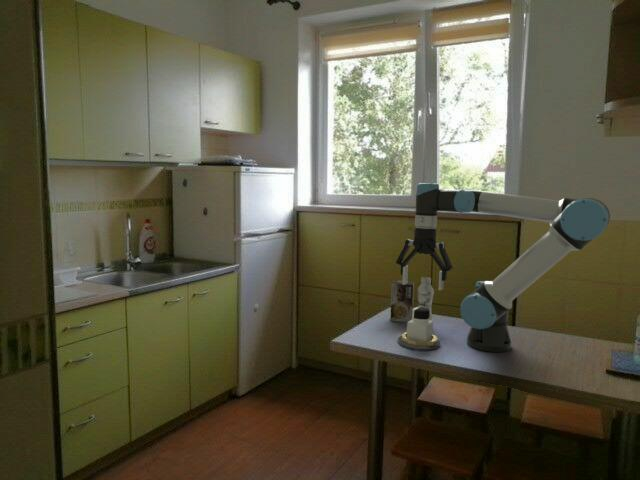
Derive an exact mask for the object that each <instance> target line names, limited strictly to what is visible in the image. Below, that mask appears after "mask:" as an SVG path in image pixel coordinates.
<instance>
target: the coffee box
mask: <svg viewBox="0 0 640 480" xmlns="http://www.w3.org/2000/svg"><path fill="white" fill-rule="evenodd" d="M414 287H415V281H409V280H407V284H405V285H402V280H397V279H396V280H392V282H391V289H390V290H391V294H390V295H391V296H390V317H389V318H390V319H389V320H390V322H401V323H403V322H404V323H408V322H409V321H411V320H412V310H413V308H414V294H415V292H414V290H415V289H414Z"/></svg>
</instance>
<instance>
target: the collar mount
mask: <svg viewBox="0 0 640 480" xmlns="http://www.w3.org/2000/svg"><path fill="white" fill-rule="evenodd" d="M397 343H398V344H399V345H400V346H401V347H403V348H406V349H410V350H413V351H422V352H423V351H426V352H427V351H434V350H438V349H440V347H441V340H439V339H438V336H437V335H435V334H433V333H432V340H431V341H415V340H411V339H409V338H407V331H405V332H403V333H402V334H401V335H400V336H399V337H398V338H397Z"/></svg>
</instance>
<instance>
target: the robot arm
mask: <svg viewBox="0 0 640 480" xmlns="http://www.w3.org/2000/svg"><path fill="white" fill-rule="evenodd" d="M415 193H416V194H415V215H414V226H415V227H414V234H413V238H414V239H411V238H409V239H405V241H404V246H403V248H402V250H401V252H400V254H399V256H398V257H397V259H396V261H395V263H396V265H399V266H400V275H401V276H402V280H401V281H402V285H405V284H407V281H409V279H408V278H409V277H408V276H409V275H408V274H409V265H408V263H410V261H411V260H413V258H414V257H415V256H416V255H417V254H420V255H421V254H423V255H429V256H431V258H432V259H433V260H434V261H435V263H436V265H437V266H438V267H439V269H440V271H439V275H438V288H437V289H438V291H442V290H444V282H445V281H447V276H448V272H449V271H452V270H453V265H452V262H451V260H450V257H449V254H448V253H447V250H446V243H445V241H443V242H437V241H436V240H437V226H438V224H437V223H438V212H449V213H459V214H462V213H463V214H464V213H466V214H468V213H472V212H473V213H482V214H487V215H496V216H503V217H509V218H517V219H521V220H522V219H523V220H528V221H529V220H531V221H536V222H537V221H538V222H543V223H549V230H548V231H547V232H546V233H545V234H544V235H542V237H540V238H539V239H538V240H537V241H536V242H535V243H534V244H532V245H531V246H530V247H529V248H527V250H526V251H525V252H523V253H522V254H521V255H520V256H519V257H518V258H516V260H514V261H513V262H512V263H511V264H510V265H509V266H508V267H506V269H504V270H503V271H502V272H501V273H500V274H499V275H497V276H496V277H495V278H494V279H493V280H479V281H476V283H475V286H474V289H475V290H474V291H472V293H470V294H469V295H468V294H467V296H465V297H464V298H463V299H462V302H461V304H460V308H459V310H460V316H461V319H462V320H463V322H464V323H466V325H468V326H469V327H470V329H469V331H468V333H467V336H466V344H467V345H468V346H470V347H472V348H474V349H476V350H480V351H483V352H489V353H490V352H491V353H504V352H508V351H510V350H511V348H512V339H511V335H510V331H509V327H508V324H509V323H508V321H509V311H510V310H511V309H512V308H513V301H514V300H515V299H516V298H517V297H518V296H520V295H521V294H522V293H523V292H524V291H525V290H527V289H528V288H529V287H530V286H532V285H533V284H534V283H535V282H536V281H538V279H539V278H541V277H542V276H543V275H545V273H547V272H548V271H549V270H551V268H553V267H554V266H556V264H558V263H559V262H560V261H561V260H562V259H563V258H564V257H566V256H567V255H568V254H570V252H573V251H576V252H579V251H581V250H582V249H584V248H585V247H586V246H587V245H588V244H590V243H591V242H592V241H593V240H595V239H596V238H598V237H600V236H601V235H602V234H603V233H604V232H605V230H606V229H607V227H608V225H609V223H610V219H611V214H610V210H609V208H608V206H607V204H605V203H604V202H602V200H599V199H596V198H593V197H592V198H591V197H585V198H583V197H581V198H570V197H569V198H567V197H563V198H562V199H560V200H558V199H549V198H542V197H532V196H525V195H517V194H509V193H508V194H507V193H500V192H499V193H498V192H492V191H484V190H483V191H482V190H475V189H471V188H466V189H443V188H440V186H439V183H433V182H432V183H431V182H427V183H426V182H420V183H418V184H417V185H416V192H415ZM411 246H413V247H414V248H413V249H412V251H411V252H410V253H409V254H408V255H407V253H408V251H409V250H410V248H411ZM436 247H437V249H438V250H439V253H440V256H441V257H440V256H439V254H438V253H437V252H438V251H436ZM406 255H407V256H406ZM441 258H442V259H441Z"/></svg>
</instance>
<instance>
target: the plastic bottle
mask: <svg viewBox="0 0 640 480" xmlns="http://www.w3.org/2000/svg"><path fill="white" fill-rule="evenodd" d="M420 280H421V281H420V283H421V284H420V285H419V286H418V287H417V290H416V294H417V307H424V308H427V309H429V310H430V315H429V320H430V321H433V318H432V305H433V300H434V294H435V290H434V288H433V286H432V284H431V283H432V282H431V281H432V278H431V277H428V276H424V277H423V276H422V277H421V278H420Z"/></svg>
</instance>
